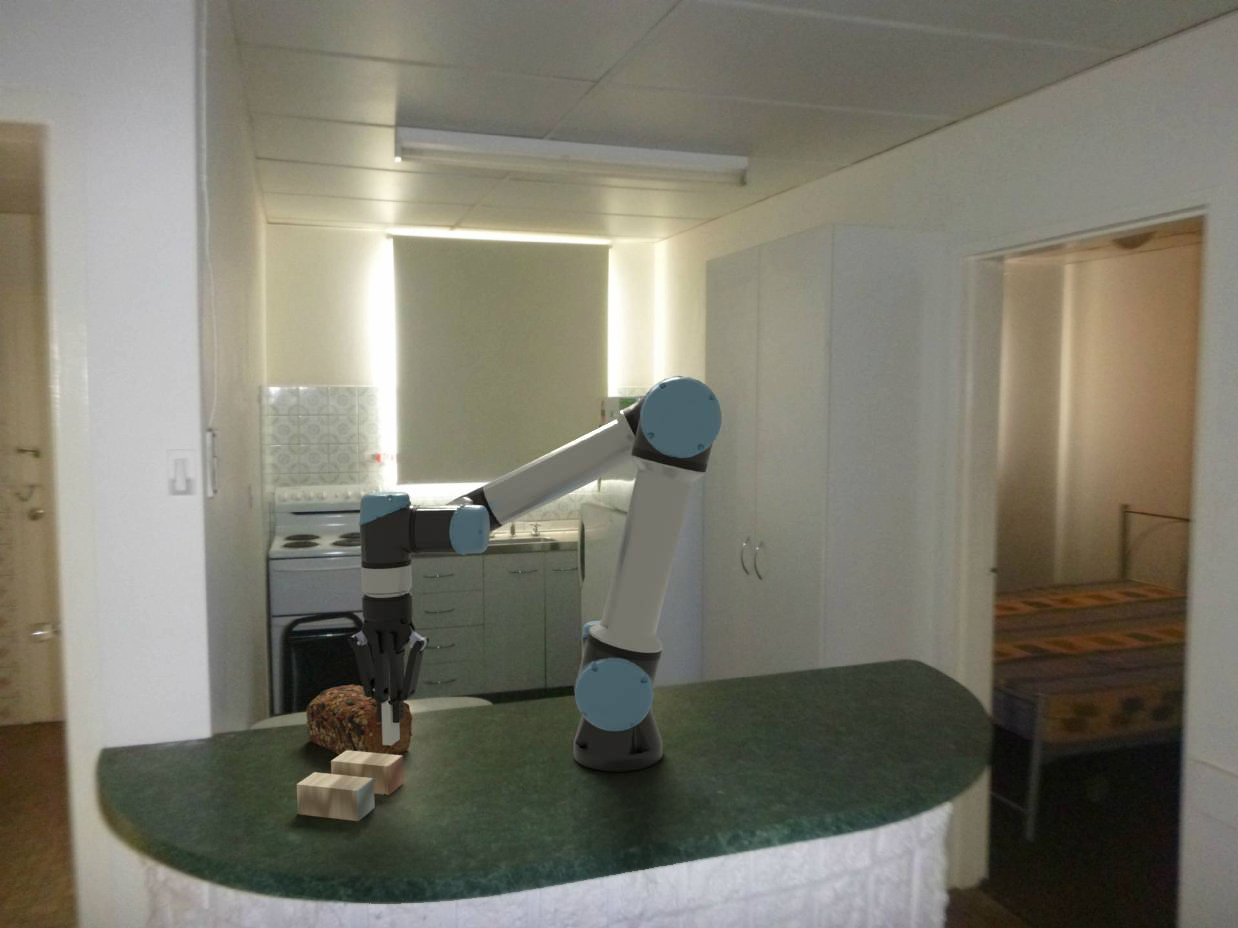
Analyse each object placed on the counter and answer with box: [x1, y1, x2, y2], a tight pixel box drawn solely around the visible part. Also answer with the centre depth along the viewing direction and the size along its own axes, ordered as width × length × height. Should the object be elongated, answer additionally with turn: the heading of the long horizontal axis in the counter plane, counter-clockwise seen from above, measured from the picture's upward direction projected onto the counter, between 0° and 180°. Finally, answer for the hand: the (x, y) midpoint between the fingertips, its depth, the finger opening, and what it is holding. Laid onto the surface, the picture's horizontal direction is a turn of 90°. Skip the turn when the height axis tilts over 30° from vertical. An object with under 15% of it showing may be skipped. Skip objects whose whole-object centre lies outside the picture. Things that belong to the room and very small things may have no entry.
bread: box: [305, 684, 413, 756], centre depth 158 cm, size 19×11×10 cm, turn 47°
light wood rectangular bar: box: [296, 771, 375, 822], centre depth 132 cm, size 4×4×10 cm
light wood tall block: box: [330, 750, 404, 796], centre depth 141 cm, size 4×4×10 cm
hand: (391, 741), depth 140 cm, fingers closed
